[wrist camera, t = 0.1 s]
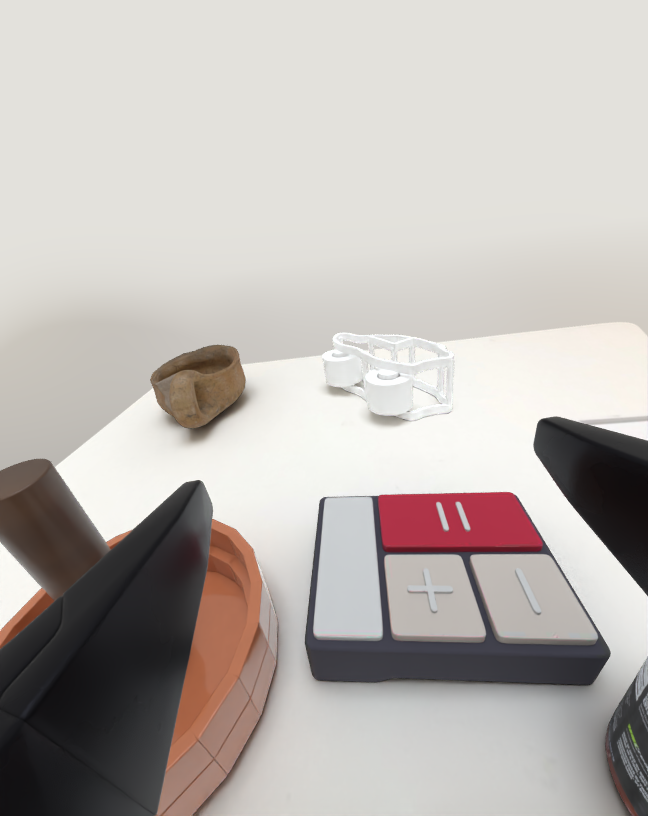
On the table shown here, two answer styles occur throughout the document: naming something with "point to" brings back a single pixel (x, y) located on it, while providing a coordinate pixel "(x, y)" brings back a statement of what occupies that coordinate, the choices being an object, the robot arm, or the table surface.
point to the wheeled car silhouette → (389, 374)
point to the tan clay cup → (199, 384)
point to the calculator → (443, 594)
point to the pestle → (46, 526)
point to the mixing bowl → (210, 670)
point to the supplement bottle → (631, 745)
